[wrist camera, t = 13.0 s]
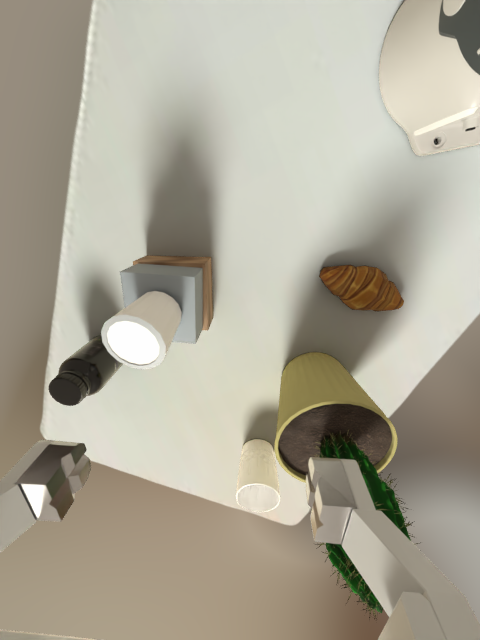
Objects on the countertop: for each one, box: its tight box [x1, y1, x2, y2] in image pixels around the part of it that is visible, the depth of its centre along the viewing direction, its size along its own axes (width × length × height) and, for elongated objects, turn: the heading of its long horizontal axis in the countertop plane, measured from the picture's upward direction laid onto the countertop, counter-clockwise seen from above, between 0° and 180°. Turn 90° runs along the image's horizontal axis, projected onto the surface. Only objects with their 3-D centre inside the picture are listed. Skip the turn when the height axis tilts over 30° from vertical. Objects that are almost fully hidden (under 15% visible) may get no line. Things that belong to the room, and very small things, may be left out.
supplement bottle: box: [49, 335, 123, 406], centre depth 42 cm, size 7×7×12 cm
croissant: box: [319, 265, 404, 311], centre depth 38 cm, size 14×7×5 cm, turn 69°
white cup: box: [236, 439, 280, 512], centre depth 51 cm, size 8×8×10 cm
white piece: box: [101, 291, 182, 370], centre depth 29 cm, size 7×7×7 cm
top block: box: [120, 263, 203, 344], centre depth 35 cm, size 9×9×5 cm
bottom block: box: [133, 256, 213, 330], centre depth 40 cm, size 10×10×5 cm
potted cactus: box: [274, 352, 415, 616], centre depth 33 cm, size 15×15×30 cm
